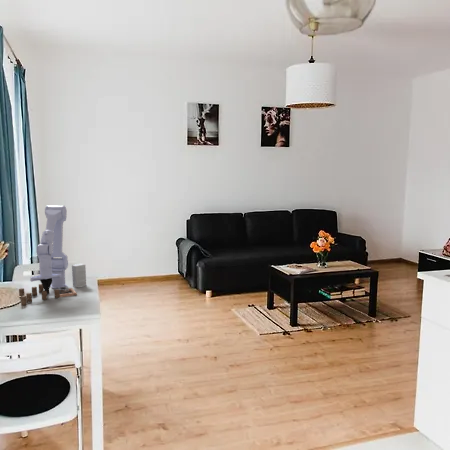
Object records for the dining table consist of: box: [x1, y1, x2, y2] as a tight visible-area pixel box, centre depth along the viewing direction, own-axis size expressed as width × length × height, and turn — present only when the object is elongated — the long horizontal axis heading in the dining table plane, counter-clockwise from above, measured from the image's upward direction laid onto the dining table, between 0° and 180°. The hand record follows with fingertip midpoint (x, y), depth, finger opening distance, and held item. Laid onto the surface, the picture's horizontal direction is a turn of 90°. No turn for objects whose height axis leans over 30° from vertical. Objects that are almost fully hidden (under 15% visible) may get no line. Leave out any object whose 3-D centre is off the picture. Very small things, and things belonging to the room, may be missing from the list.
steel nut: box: [56, 287, 70, 294], centre depth 244 cm, size 6×5×3 cm
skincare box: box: [71, 262, 87, 289], centre depth 258 cm, size 6×4×12 cm
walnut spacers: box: [18, 283, 61, 306], centre depth 238 cm, size 20×18×4 cm
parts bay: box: [60, 287, 78, 298], centre depth 245 cm, size 10×9×1 cm
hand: (46, 293), depth 240 cm, fingers closed
